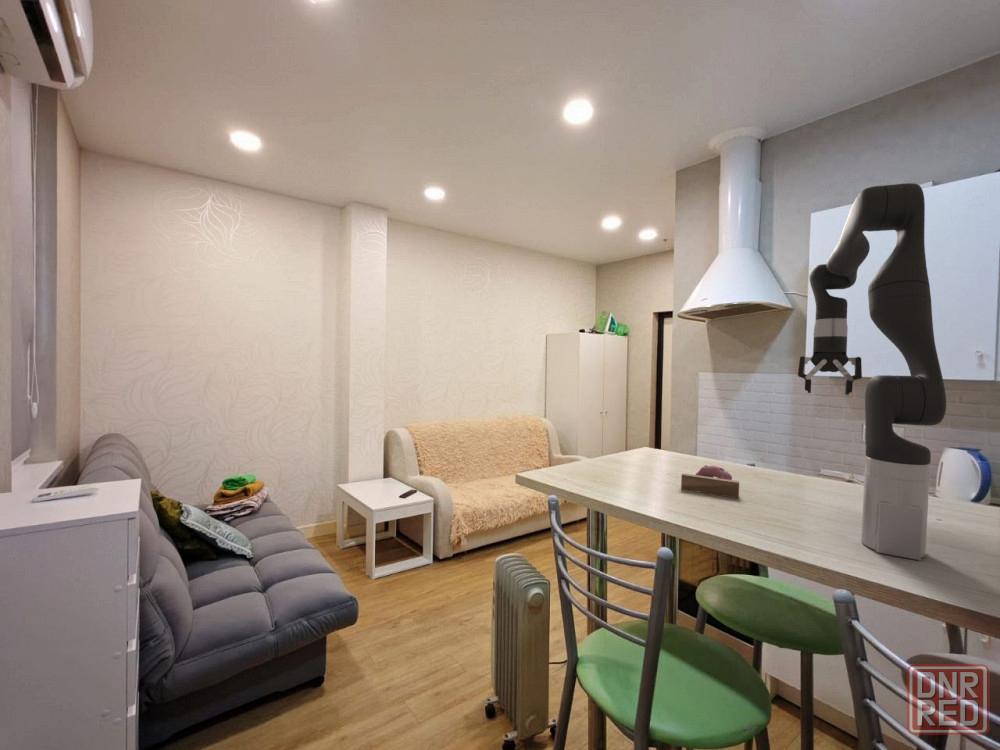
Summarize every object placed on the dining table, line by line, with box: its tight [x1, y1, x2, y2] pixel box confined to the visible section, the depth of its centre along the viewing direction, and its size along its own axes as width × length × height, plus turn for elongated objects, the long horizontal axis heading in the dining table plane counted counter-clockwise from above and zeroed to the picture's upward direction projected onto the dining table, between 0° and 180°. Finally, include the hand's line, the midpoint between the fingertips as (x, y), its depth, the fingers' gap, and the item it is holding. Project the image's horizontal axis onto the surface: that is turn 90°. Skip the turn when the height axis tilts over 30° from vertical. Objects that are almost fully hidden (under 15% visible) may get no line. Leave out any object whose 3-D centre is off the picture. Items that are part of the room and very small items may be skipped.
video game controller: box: [694, 464, 733, 480], centre depth 125 cm, size 10×5×7 cm, turn 22°
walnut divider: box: [680, 472, 740, 499], centre depth 119 cm, size 2×14×4 cm, turn 59°
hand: (827, 393), depth 123 cm, fingers open, 8 cm apart
